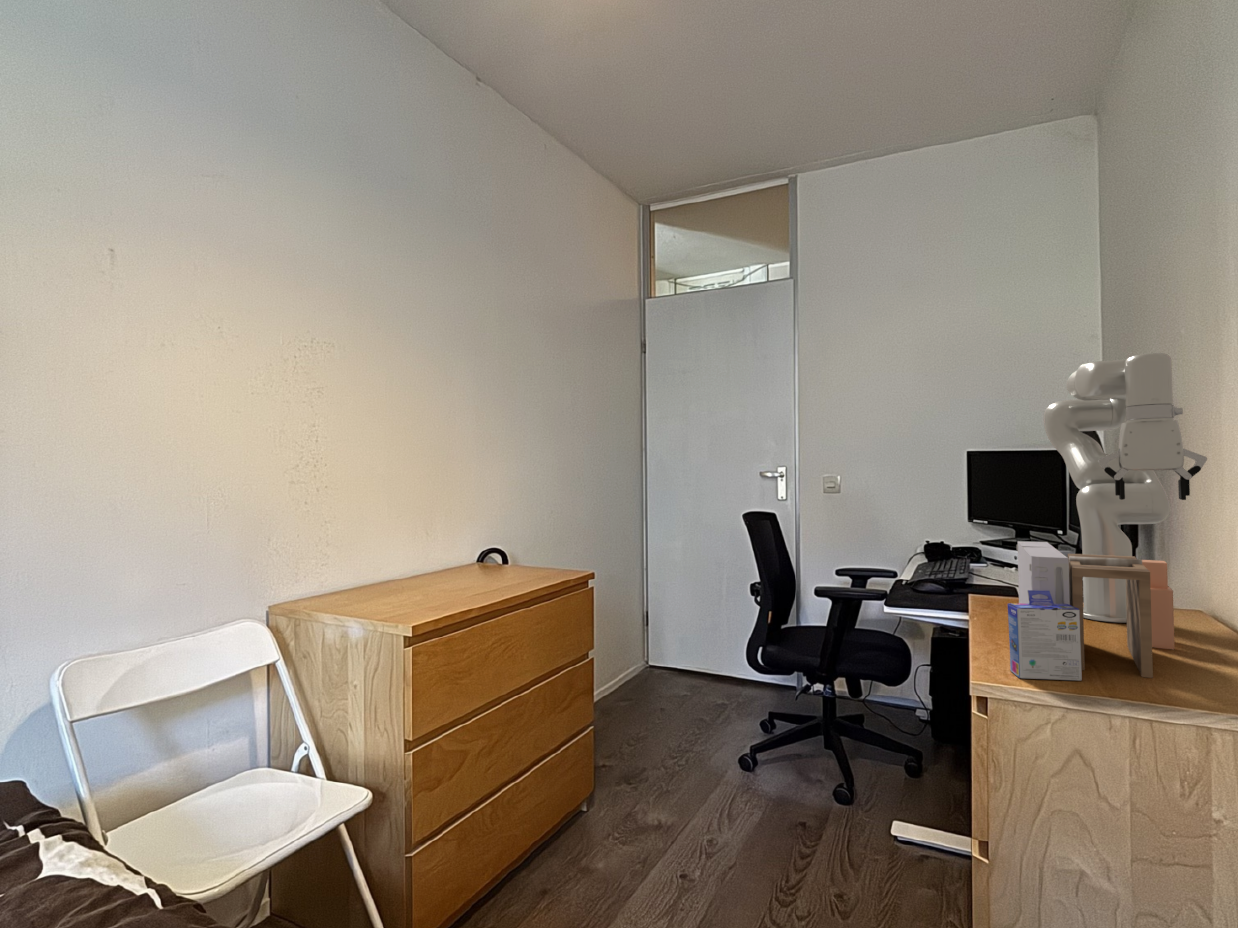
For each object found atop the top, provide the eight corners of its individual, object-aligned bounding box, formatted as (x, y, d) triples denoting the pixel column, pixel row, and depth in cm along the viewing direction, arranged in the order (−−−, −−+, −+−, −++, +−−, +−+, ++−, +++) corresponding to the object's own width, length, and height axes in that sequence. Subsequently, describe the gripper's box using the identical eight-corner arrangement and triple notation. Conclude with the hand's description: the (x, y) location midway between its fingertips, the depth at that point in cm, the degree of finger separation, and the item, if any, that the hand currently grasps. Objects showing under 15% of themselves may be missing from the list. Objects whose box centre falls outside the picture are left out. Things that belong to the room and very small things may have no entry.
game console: (1033, 666, 121) (1030, 556, 121) (1018, 632, 145) (1016, 541, 146) (1071, 670, 118) (1068, 557, 119) (1049, 634, 143) (1047, 542, 143)
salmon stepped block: (1136, 636, 140) (1134, 558, 140) (1167, 639, 137) (1165, 559, 137) (1142, 646, 133) (1140, 563, 133) (1174, 649, 130) (1172, 564, 130)
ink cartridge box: (1069, 672, 117) (1067, 589, 117) (1084, 682, 112) (1082, 595, 112) (1007, 669, 119) (1005, 588, 119) (1019, 679, 114) (1017, 594, 114)
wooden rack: (1069, 640, 138) (1067, 549, 138) (1136, 647, 132) (1134, 552, 132) (1074, 668, 119) (1071, 563, 119) (1152, 677, 113) (1150, 567, 113)
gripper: (1201, 413, 134) (1203, 499, 134) (1095, 418, 143) (1097, 498, 143) (1209, 411, 128) (1212, 500, 127) (1098, 416, 137) (1100, 499, 137)
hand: (1151, 499), depth 135 cm, fingers open, 9 cm apart
